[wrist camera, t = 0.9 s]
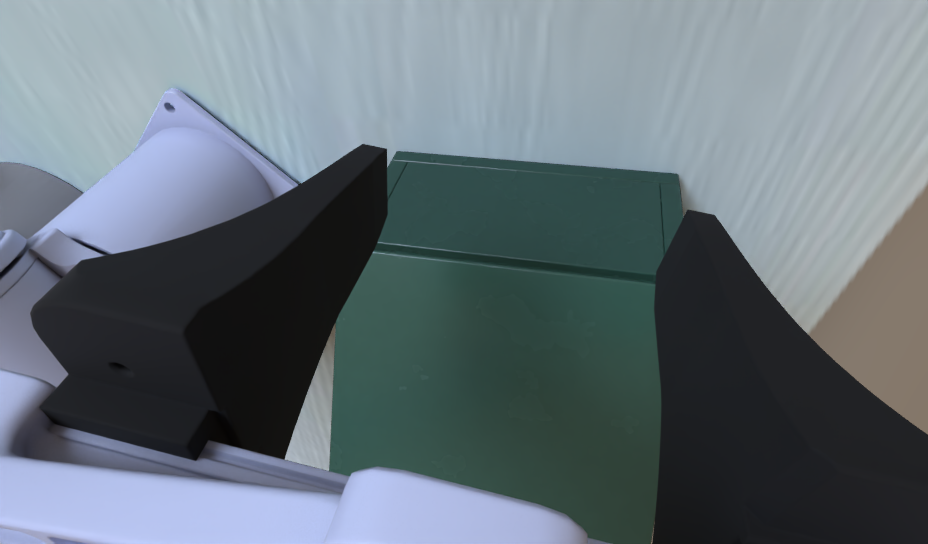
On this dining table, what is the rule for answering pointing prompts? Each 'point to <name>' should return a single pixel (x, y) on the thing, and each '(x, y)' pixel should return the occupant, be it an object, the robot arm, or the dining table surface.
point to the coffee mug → (31, 198)
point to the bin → (532, 213)
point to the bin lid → (504, 385)
